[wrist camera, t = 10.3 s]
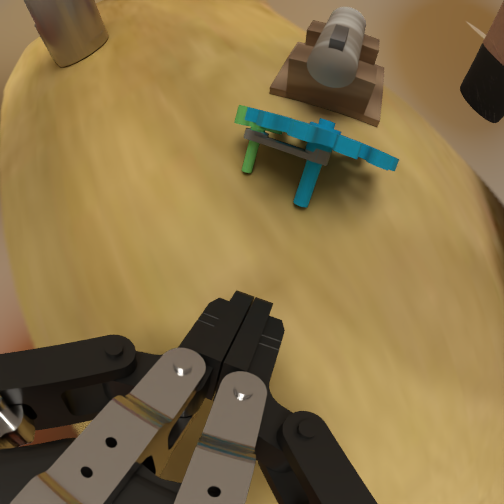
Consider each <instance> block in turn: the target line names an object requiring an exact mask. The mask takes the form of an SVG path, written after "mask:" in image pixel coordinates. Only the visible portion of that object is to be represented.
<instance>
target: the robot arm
mask: <svg viewBox="0 0 504 504" xmlns="http://www.w3.org/2000/svg"><path fill="white" fill-rule="evenodd" d="M24 2H25V4H26V6H27V8H28V10H29V12H30V14H31V16H32V18H33V20H34V22H35V27H36V29H37V31H38V33H39V35H40V37H41V39H42V40H43V42H44V44H45V46H46V47H47V49H48V51H49V53H50V55H51V56H52V58H53V60H54V61H55V63H57V64H58V65H59V66H60V67H64V66H68V65H71V64H73V63H75V62H77V61H79V60H81V59H83V58H85V57H86V56H88V55H90V54H91V53H93V52H94V51H95V50H97V49H98V48H99V47H100V46H102V45H103V44H104V43H105V41H106V40H107V39H108V34H107V31H106V29H105V26H104V24H103V21H102V19H101V16H100V13H99V11H98V8H97V6H96V3H95V1H94V0H24ZM272 306H273V303H271V302H268V301H265V300H263V299H260V298H257V297H255V299H254V296H251V295H248V294H246V293H243V292H240V291H236V292H235V293H234V295H233V297H232V298H231V300H230V301H227V300H224V299H222V298H218V299H216V300H214V301H212V302H210V303H209V304H208V306H207V307H206V308H205V310H204V311H203V314H201V316H200V317H199V318H198V321H196V323H195V324H194V326H193V327H192V328H191V330H190V331H189V333H188V334H187V336H186V337H185V338H184V340H183V341H182V343H181V344H180V346H179V347H178V348H174V349H171V350H169V351H167V352H166V353H164V354H163V355H154V354H148V353H143V352H138V351H136V350H135V346H134V345H133V343H132V342H131V341H130V340H129V339H127V338H126V337H123V336H120V335H107V336H102V337H97V338H92V339H87V340H82V341H77V342H71V343H66V344H61V345H55V346H49V347H43V348H37V349H31V350H25V351H19V352H12V353H5V354H0V504H245V502H246V498H247V494H248V490H249V486H250V482H251V478H252V474H253V470H254V466H255V461H256V460H257V461H258V464H259V466H260V468H261V470H262V472H263V474H264V476H265V478H266V480H267V482H268V484H269V486H270V488H271V490H272V492H273V494H274V496H275V498H276V500H277V502H278V503H279V504H377V502H376V501H375V499H374V498H373V496H372V495H371V493H370V492H369V490H368V489H367V487H366V486H365V484H364V483H363V481H362V480H361V478H360V476H359V475H358V473H357V472H356V470H355V469H354V467H353V466H352V464H351V463H350V461H349V460H348V458H347V456H346V455H345V453H344V452H343V450H342V449H341V447H340V445H339V444H338V442H337V441H336V439H335V438H334V436H333V434H332V433H331V431H330V430H329V428H328V426H327V425H326V423H325V422H324V421H323V419H322V418H320V417H319V416H318V415H316V414H314V413H311V412H307V411H298V412H295V413H292V412H290V411H289V410H287V409H286V408H284V407H283V406H281V405H280V404H278V403H277V402H276V401H275V399H274V398H273V397H272V395H271V393H270V389H269V382H270V378H271V375H272V371H273V368H274V365H275V362H276V358H277V355H278V352H279V348H280V345H281V341H282V338H283V334H284V331H285V330H284V327H283V323H282V320H280V319H277V318H274V317H271V316H269V314H270V311H271V308H272ZM215 392H216V393H215ZM214 394H215V397H214V400H213V401H214V403H213V406H212V408H211V411H210V414H209V416H208V419H207V422H206V424H205V427H204V430H203V432H202V435H201V437H200V438H199V441H198V443H197V445H196V448H195V451H194V453H193V456H192V458H191V461H190V464H189V466H188V469H187V471H186V474H185V476H184V479H183V482H182V483H177V482H172V481H168V480H164V479H161V478H159V475H160V474H161V472H162V471H163V469H164V468H165V466H166V464H167V462H168V460H169V457H170V455H171V453H172V451H173V450H174V448H175V447H176V445H177V444H178V442H179V441H180V439H181V438H182V436H183V435H184V433H185V432H186V430H187V428H188V427H189V425H190V424H191V422H192V421H193V419H194V418H195V416H196V414H197V412H198V410H199V408H200V406H201V405H202V403H203V401H204V399H205V398H207V399H210V400H212V398H213V396H214ZM90 420H93V421H92V422H91V423H90V424H89V425H88V426H87V427H86V428H85V429H84V430H83V432H82V433H81V434H80V435H79V436H78V437H77V438H66V439H61V440H56V441H51V442H46V443H41V444H35V445H29V446H22V447H19V446H21V445H24V444H27V443H31V442H32V441H33V440H34V434H35V430H42V429H48V428H54V427H60V426H65V425H71V424H76V423H81V422H86V421H90ZM116 445H117V446H116Z"/></svg>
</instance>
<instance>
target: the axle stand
mask: <svg viewBox="0 0 504 504" xmlns="http://www.w3.org/2000/svg"><path fill="white" fill-rule="evenodd" d="M365 27H366V21H365V19H364V17H363V16H362V14H361V13H360V12H359V11H357V10H356V9H353V8H350V7H340V8H337V9H335V10H334V11H333V12H332V14H331V16H330V18H329V20H328V22H327V23H323V22H319V21H315V20H313V21H312V23H311V25H310V26H309V28H308V29H307V35H306V43H301V42H297V44H296V46H295V47H294V49H293V50H292V52H291V53H290V55H289V57H288V58H287V60H286V61H285V63H284V65H283V66H282V68H281V70H280V71H279V73H278V75H277V76H276V78H275V80H274V81H273V83H272V85H271V86H270V94H274V95H278V96H282V97H286V98H290V99H294V100H298V101H301V102H305V103H309V104H312V105H315V106H319V107H322V108H325V109H328V110H331V111H335V112H338V113H341V114H343V115H346V116H349V117H352V118H355V119H358V120H360V121H363V122H366V123H368V124H371V125H373V126H376V127H377V126H378V124H379V122H380V114H381V104H382V93H383V80H384V68H383V67H381V66H378V65H375V61H376V58H377V54H378V51H379V39H376V38H373V37H371V36H368V35H365V34H364V32H365Z"/></svg>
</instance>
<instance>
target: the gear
mask: <svg viewBox="0 0 504 504" xmlns="http://www.w3.org/2000/svg"><path fill="white" fill-rule="evenodd" d="M234 123H237V124H241V125H246V126H251V128H246V130H245V134H244V138H245V139H248V140H249V144H248V147H247V151H246V155H245V159H244V163H243V166H242V171H243V172H246V173H252V169H253V165H254V162H255V158H256V154H257V151H258V147H259V144H263V145H266V146H270V147H272V148H275V149H278V150H281V151H284V152H287V153H290V154H293V155H295V156H298V157H301V158H304V159H306V160H307V161H306V164H305V168H304V171H303V174H302V177H301V180H300V183H299V186H298V189H297V192H296V195H295V198H294V201H293V202H294V203H295V204H296V205H298V206H301V207H308V204H309V201H310V199H311V196H312V193H313V190H314V187H315V184H316V181H317V178H318V175H319V172H320V169H321V166H322V165H325V166H327V164H328V161H329V158H330V155H331V152H332V150H334V151H336V152H338V153H341V154H344V155H346V156H349V157H352V158H354V159H358V157H360V158H362V159H365V160H366V161H367V162H368V163H370V164H373V165H375V166H377V167H380V168H382V169H385V170H388V169H389V170H392V171H395V169H396V166H397V164H398V161H399V159H397V158H395V157H393V156H391V155H389V154H387V153H384V152H382V151H380V150H377V149H375V148H373V147H370V146H368V145H366V144H363V143H361V142H358V141H356V140H353V139H350V138H348V137H345V136H343V135H340V134H341V132H340V131H337V130H334V127H335V123H333V122H331V121H328V120H325V119H322V118H320V120H319V123H318V124H317V123H314V122H310V124H308V123H305V122H302V121H298V120H295V119H291V118H288V117H285V116H282V115H278V114H274V113H270V112H266V111H263V110H258V109H254V108H250V107H246V106H242V105H239V107H238V110H237V114H236V118H235V122H234ZM265 130H266V131H270V132H273V133H276V134H281V135H282V132H286V133H287V135H289V136H292V137H295V138H298V139H300V140H303V141H306V142H307V145H306V149H302V148H299V147H296V146H294V145H291V144H288V143H285V142H282V141H279V140H276V139H273V138H269V137H268V136H269V134H268V133H266V132H265Z"/></svg>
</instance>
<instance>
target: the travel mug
mask: <svg viewBox="0 0 504 504" xmlns="http://www.w3.org/2000/svg"><path fill="white" fill-rule="evenodd" d="M460 91H461V93H462V95H463V97H464V99H465V100H466V101H467V103H468V104H469V105H470V106H471V107H472V108H473V109H474V110H475V111H476V112H477V113H478V114H479V115H481V116H482V117H483V118H485V119H486V120H488V121H490V122H492V123H497V122H499V120H500V119H501V118H502V117H503V116H504V1H503V3H502V5H501V7H500V9H499V12H498V14H497V16H496V18H495V20H494V22H493V24H492V26H491V28H490V30H489V32H488V34H487V35H486V37H485V39H484V41H483V43H482V45H481V47H480V49H479V51H478V53H477V55H476V57H475V59H474V61H473V63H472V65H471V67H470V69H469V71H468V73H467V75H466V76H465V78H464V80H463V82H462V84H461V86H460Z"/></svg>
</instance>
